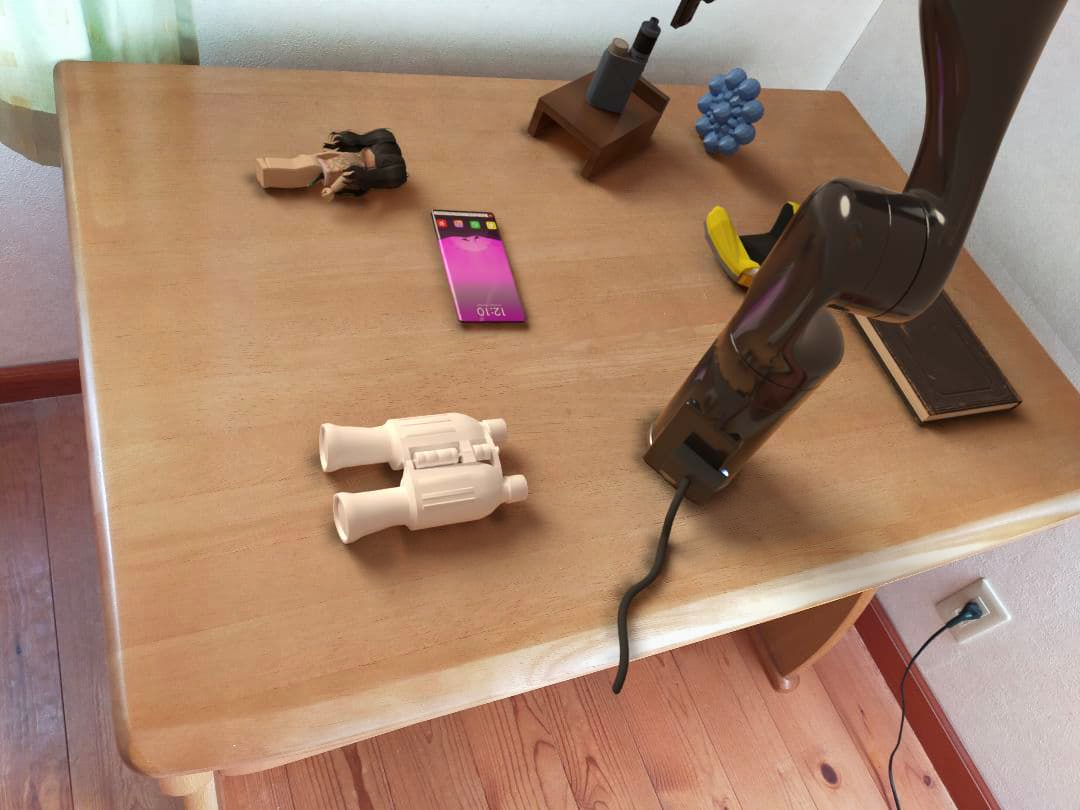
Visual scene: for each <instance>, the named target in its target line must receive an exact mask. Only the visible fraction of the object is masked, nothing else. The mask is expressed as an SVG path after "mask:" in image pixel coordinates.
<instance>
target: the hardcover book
mask: <svg viewBox="0 0 1080 810" xmlns="http://www.w3.org/2000/svg"><path fill="white" fill-rule="evenodd" d="M847 314H848V316H849V317H850V319H851V321H852V322H853V324H854V325H855V327H856V328H857V330H858V331H859V333H860V335H861V336H862V338H863V339H864V341H865V342H866V344H867V345H868V347H869V349H870V351H871V352H872V353H873V355H874V357H875V359H876V360H877V361H878V363H879V365H880V366H881V368H882V369H883V371H884V372H885V374H886V376H887V377H888V379H889V381H890V382H891V384H892V385H893V387H894V388H895V390H896V391H897V393H898V394H899V396H900V398H901V399H902V401H903V403H904V404H905V406H906V407H907V409H908V410H909V412H910V414H911V416H912V417H913V418H914V420H915V422H916V424H917V425H918V426H920V425H921V426H922V425H930V424H936V423H942V422H948V421H954V420H960V419H967V418H974V417H980V416H987V415H993V414H999V413H1005V412H1010V411H1013V410H1014V409H1016V408H1017V407H1019V406H1020V405H1021V404H1022V403H1023V402H1024V401H1023V399H1022V397H1021V396H1020V394H1018V391H1017V390H1016V388H1014V386H1013V384H1012V383H1011V382H1010V381H1009V379H1008V378H1007V376H1006V375H1005V373H1004V372H1003V370H1002V369H1001V368H1000V366H999V365H998V364H997V362H996V361H995V359H994V358H993V357H992V355H991V353H990V352H989V351H988V349H987V348H986V347H985V345H984V344H983V343H982V341H981V340H980V338H979V337H978V336H977V334H976V332H975V331H974V329H972V326H971V325H969V323H968V321H967V320H966V318H965V317H964V315H963V314H962V313H961V312H960V310H959V308H958V307H957V306H956V304H955V303H954V302H953V300H952V299H951V297H950V296H949V295H948V293H947V292H946V290H945V289H944V288H943V289H942V291H941V293H940V294H939V296H938V297H937V298H936V300H935V301H934V302H933V304H932V305H931V306H930V307H929V308H928V309H927V310H926V311H925V312H924V313H922V314H921V315H920V316H918V317H917V318H915V319H913V320H910V321H908V322H904V323H892V322H886V321H881V320H877V319H872V318H868V317H865V316H860V315H856V314H852V313H848V312H847Z"/></svg>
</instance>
